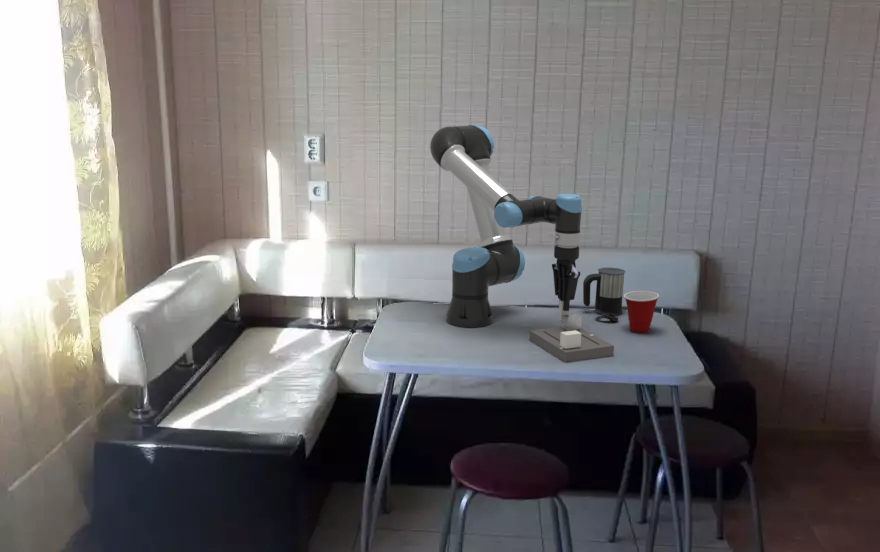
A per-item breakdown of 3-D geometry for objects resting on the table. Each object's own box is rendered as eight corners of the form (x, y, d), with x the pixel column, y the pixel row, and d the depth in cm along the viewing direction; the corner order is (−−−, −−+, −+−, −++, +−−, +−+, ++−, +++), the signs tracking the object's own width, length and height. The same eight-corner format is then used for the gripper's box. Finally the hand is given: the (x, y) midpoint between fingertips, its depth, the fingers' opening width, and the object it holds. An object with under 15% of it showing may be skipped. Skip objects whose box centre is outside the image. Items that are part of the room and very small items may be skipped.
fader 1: (561, 327, 250) (562, 315, 249) (575, 326, 252) (576, 313, 251) (567, 330, 248) (567, 318, 247) (581, 329, 250) (581, 316, 249)
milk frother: (612, 307, 285) (615, 266, 281) (640, 320, 271) (643, 276, 267) (577, 311, 279) (579, 269, 275) (603, 325, 265) (606, 280, 261)
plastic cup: (618, 324, 265) (621, 289, 262) (652, 325, 265) (655, 290, 262) (623, 335, 255) (626, 298, 252) (659, 336, 254) (662, 299, 251)
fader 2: (559, 345, 234) (560, 332, 234) (575, 343, 236) (575, 330, 235) (565, 348, 232) (566, 335, 231) (580, 346, 234) (581, 333, 233)
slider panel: (529, 339, 249) (529, 330, 249) (574, 334, 255) (575, 324, 255) (565, 362, 231) (565, 352, 230) (613, 355, 237) (614, 345, 236)
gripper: (545, 242, 253) (542, 315, 259) (567, 250, 241) (563, 327, 247) (566, 240, 256) (562, 313, 261) (589, 248, 244) (585, 324, 250)
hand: (563, 319), depth 254 cm, fingers closed
